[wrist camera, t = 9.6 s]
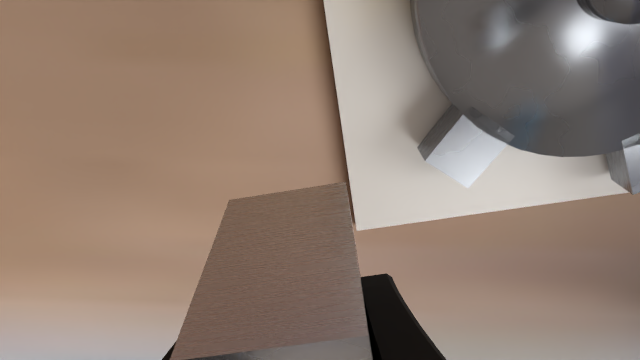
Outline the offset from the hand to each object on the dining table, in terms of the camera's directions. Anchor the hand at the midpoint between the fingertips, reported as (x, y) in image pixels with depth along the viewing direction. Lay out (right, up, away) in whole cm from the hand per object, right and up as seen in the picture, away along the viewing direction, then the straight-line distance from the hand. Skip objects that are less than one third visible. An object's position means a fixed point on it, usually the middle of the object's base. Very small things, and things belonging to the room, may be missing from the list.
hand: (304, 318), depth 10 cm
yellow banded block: (0, +1, +2) cm, 2 cm away
